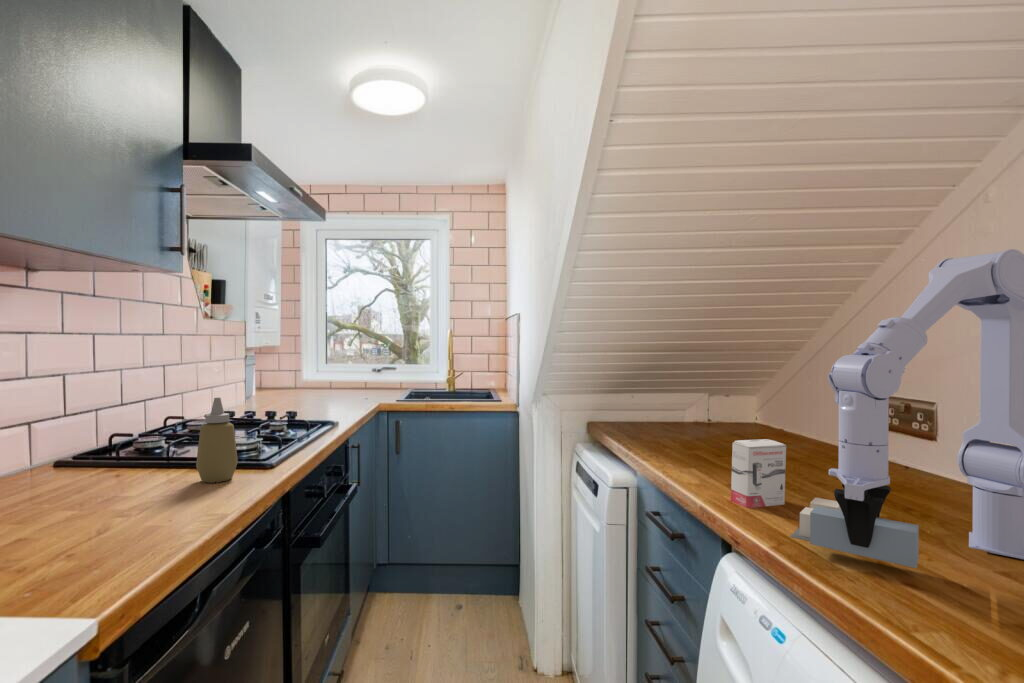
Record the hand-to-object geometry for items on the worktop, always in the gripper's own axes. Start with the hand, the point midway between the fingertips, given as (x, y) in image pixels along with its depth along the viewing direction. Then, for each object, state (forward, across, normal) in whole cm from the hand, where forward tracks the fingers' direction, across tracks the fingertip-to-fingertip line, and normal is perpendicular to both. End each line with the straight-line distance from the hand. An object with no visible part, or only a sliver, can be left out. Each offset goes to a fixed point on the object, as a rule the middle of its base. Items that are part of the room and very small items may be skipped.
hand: (862, 540), depth 72 cm
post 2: (+3, -14, -7) cm, 16 cm away
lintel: (+1, 0, 0) cm, 1 cm away
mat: (+3, -12, -5) cm, 13 cm away
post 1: (+3, -8, -7) cm, 11 cm away
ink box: (+4, -19, -19) cm, 27 cm away
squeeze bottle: (+4, +42, -113) cm, 121 cm away
